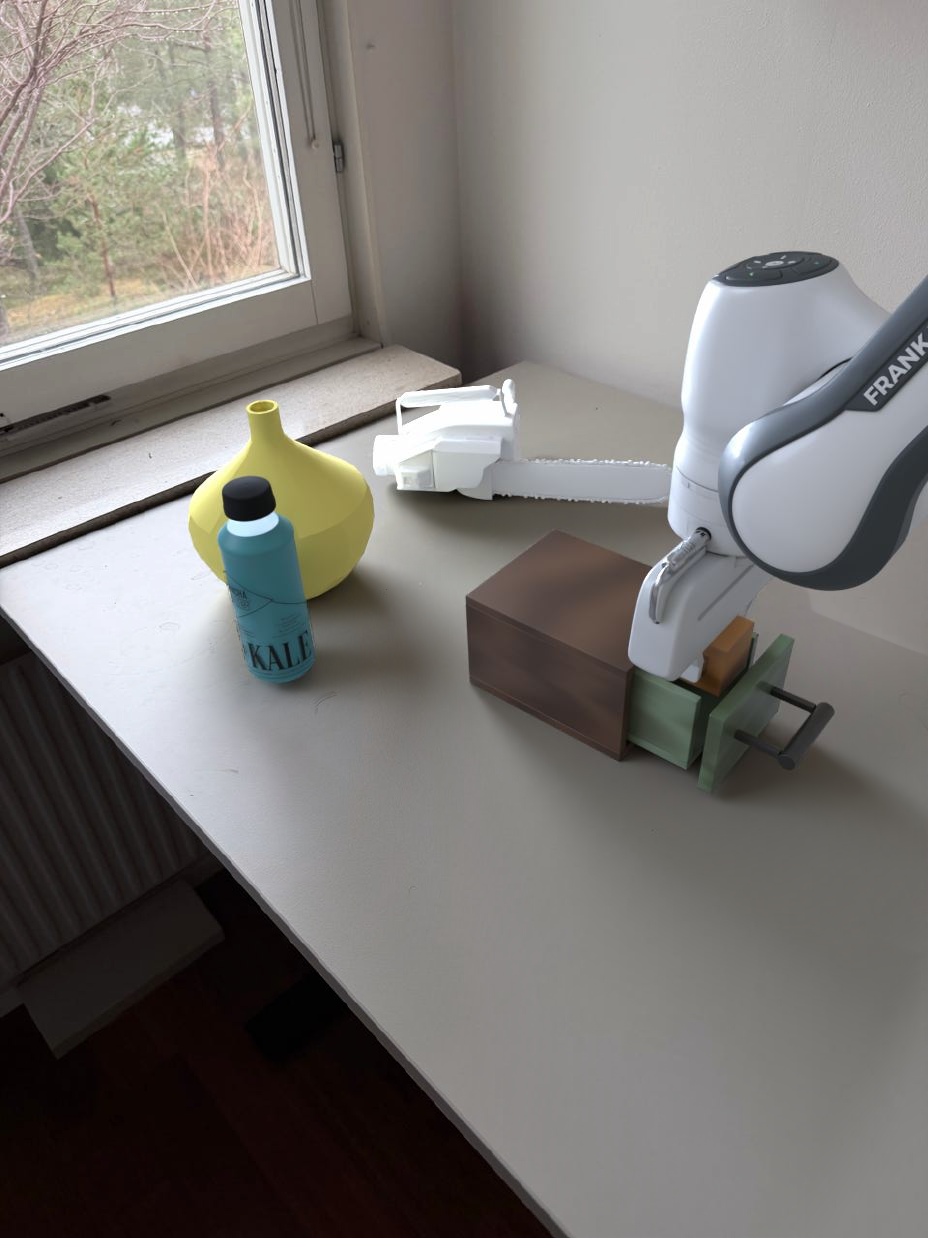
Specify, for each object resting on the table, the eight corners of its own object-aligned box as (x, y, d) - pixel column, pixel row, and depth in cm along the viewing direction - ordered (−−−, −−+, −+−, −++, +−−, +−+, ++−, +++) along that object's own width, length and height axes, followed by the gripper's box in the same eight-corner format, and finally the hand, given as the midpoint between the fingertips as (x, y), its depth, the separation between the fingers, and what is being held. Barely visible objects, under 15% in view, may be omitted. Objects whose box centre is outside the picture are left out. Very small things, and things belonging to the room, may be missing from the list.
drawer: (835, 736, 76) (856, 663, 71) (770, 826, 69) (789, 752, 64) (628, 643, 86) (634, 573, 81) (555, 713, 79) (556, 642, 74)
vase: (240, 523, 107) (204, 363, 95) (397, 531, 104) (380, 367, 92) (178, 623, 93) (126, 450, 81) (358, 635, 90) (332, 458, 78)
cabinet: (697, 677, 83) (710, 589, 77) (618, 762, 76) (627, 672, 70) (552, 611, 92) (554, 527, 86) (469, 682, 84) (464, 595, 78)
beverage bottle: (279, 642, 90) (240, 456, 77) (335, 664, 87) (303, 475, 74) (233, 683, 85) (184, 493, 73) (290, 707, 83) (249, 514, 70)
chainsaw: (677, 520, 103) (690, 416, 96) (369, 506, 108) (357, 407, 101) (674, 453, 115) (684, 356, 107) (395, 444, 120) (386, 350, 112)
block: (746, 666, 73) (755, 621, 71) (718, 697, 71) (727, 652, 68) (695, 643, 76) (701, 599, 73) (666, 673, 73) (672, 628, 70)
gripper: (702, 590, 56) (678, 751, 64) (841, 454, 68) (805, 605, 76) (612, 554, 59) (601, 711, 68) (760, 431, 71) (734, 578, 80)
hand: (710, 654), depth 72 cm, fingers closed on block, 4 cm apart
